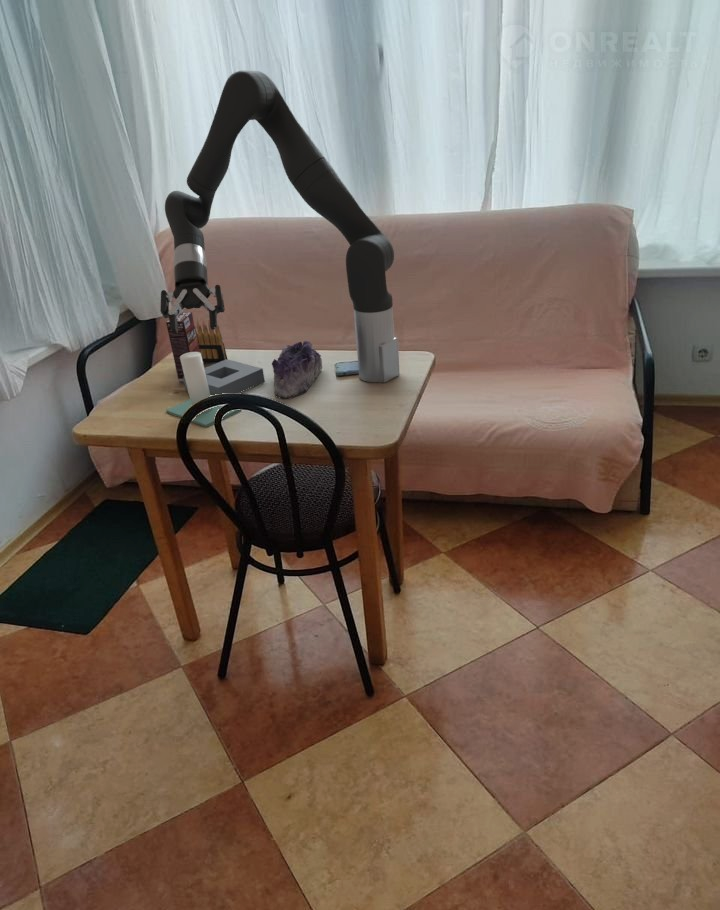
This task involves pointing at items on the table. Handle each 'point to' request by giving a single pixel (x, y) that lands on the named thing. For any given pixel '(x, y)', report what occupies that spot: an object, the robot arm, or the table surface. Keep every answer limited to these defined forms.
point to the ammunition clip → (210, 343)
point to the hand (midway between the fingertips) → (193, 330)
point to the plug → (195, 377)
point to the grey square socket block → (231, 377)
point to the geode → (295, 370)
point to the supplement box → (183, 340)
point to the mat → (201, 419)
